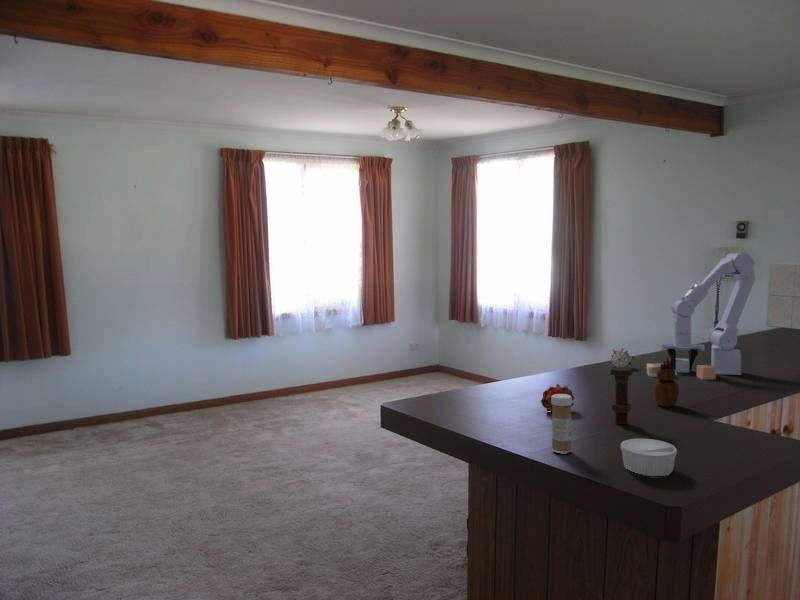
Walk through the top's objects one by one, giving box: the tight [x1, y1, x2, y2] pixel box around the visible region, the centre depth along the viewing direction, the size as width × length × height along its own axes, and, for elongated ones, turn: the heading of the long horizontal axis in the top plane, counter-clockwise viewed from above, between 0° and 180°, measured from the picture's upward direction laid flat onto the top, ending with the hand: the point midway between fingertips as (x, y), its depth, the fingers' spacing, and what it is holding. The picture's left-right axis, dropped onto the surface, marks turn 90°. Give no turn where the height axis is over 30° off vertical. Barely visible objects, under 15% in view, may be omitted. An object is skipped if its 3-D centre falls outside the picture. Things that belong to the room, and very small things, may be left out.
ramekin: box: [620, 437, 678, 477], centre depth 133 cm, size 11×11×5 cm
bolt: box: [610, 366, 634, 425], centre depth 167 cm, size 6×5×15 cm
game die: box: [607, 348, 635, 368], centre depth 238 cm, size 9×8×10 cm
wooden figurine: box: [653, 355, 680, 408], centre depth 184 cm, size 7×6×15 cm
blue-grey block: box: [674, 358, 690, 374], centre depth 230 cm, size 4×4×5 cm
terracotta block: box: [696, 364, 717, 380], centre depth 217 cm, size 4×4×5 cm
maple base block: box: [646, 362, 664, 378], centre depth 224 cm, size 7×7×4 cm
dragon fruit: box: [540, 383, 575, 412], centre depth 181 cm, size 8×8×12 cm
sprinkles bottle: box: [551, 394, 573, 452], centre depth 145 cm, size 5×5×14 cm
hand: (682, 369), depth 229 cm, fingers closed on blue-grey block, 5 cm apart
